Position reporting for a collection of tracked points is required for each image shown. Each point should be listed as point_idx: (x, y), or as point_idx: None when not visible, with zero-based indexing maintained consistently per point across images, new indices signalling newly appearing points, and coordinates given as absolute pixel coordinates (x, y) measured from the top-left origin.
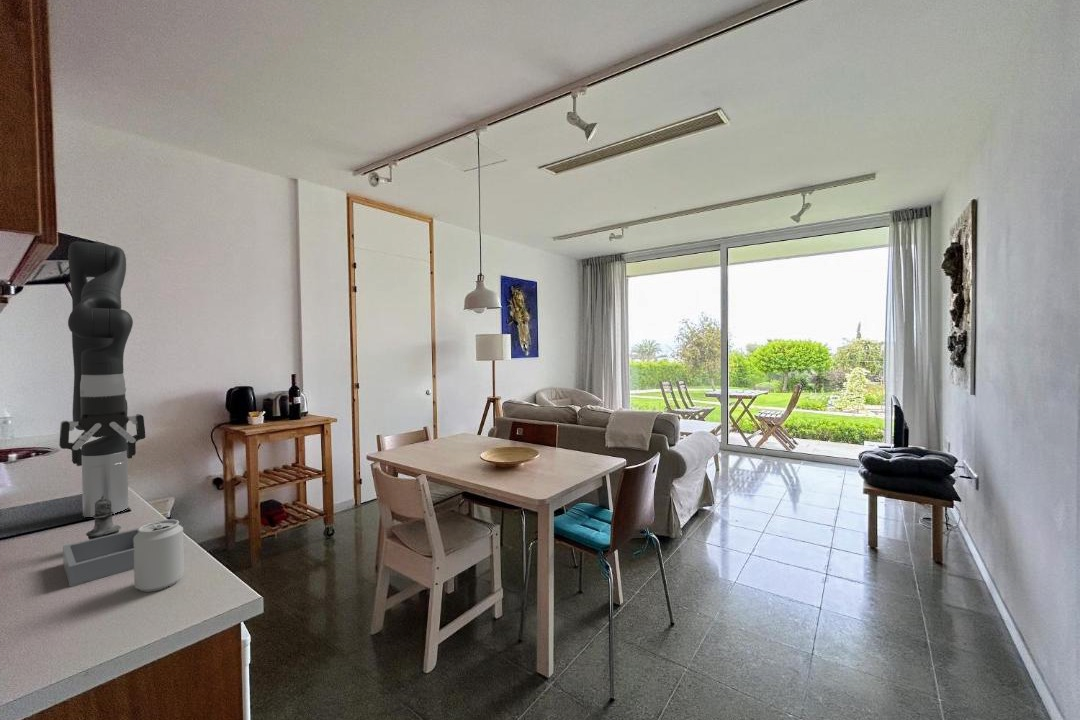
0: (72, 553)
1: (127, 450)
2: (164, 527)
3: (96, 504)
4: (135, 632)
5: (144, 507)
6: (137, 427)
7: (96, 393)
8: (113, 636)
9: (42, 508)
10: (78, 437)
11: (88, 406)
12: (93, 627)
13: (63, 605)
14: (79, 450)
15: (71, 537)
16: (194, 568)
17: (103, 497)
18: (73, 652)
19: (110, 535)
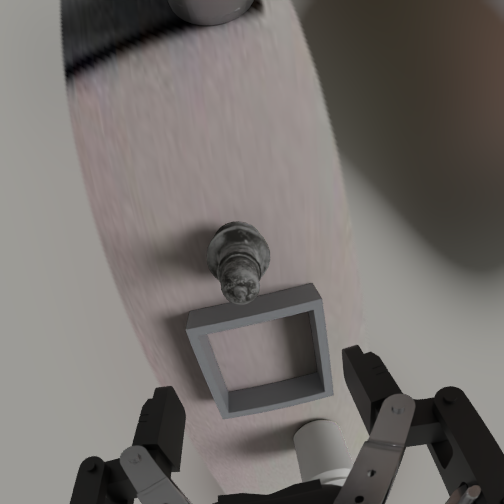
0: (212, 376)
1: (356, 390)
2: (340, 466)
3: (226, 298)
4: (291, 482)
5: (288, 2)
6: (450, 477)
7: None
8: (278, 482)
9: None
10: (140, 495)
11: None
12: (263, 471)
13: (229, 433)
14: (172, 470)
15: (166, 143)
16: (352, 412)
17: (242, 298)
18: (255, 487)
19: (258, 318)
